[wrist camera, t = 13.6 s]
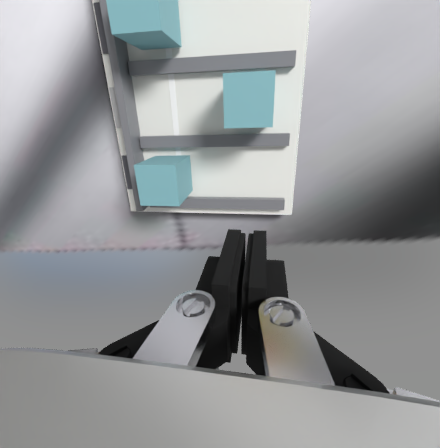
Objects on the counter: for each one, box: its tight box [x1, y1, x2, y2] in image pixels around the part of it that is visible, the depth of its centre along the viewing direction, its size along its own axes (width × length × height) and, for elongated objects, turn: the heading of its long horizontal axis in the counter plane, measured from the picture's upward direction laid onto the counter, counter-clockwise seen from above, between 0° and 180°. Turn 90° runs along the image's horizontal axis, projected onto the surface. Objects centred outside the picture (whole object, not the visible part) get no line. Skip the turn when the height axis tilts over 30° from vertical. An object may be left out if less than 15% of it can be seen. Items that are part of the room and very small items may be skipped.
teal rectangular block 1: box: [106, 0, 182, 50], centre depth 21 cm, size 4×4×6 cm
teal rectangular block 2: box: [134, 155, 193, 206], centre depth 26 cm, size 4×4×6 cm
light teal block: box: [223, 70, 276, 128], centre depth 22 cm, size 4×4×6 cm
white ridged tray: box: [92, 0, 311, 215], centre depth 26 cm, size 20×24×4 cm
